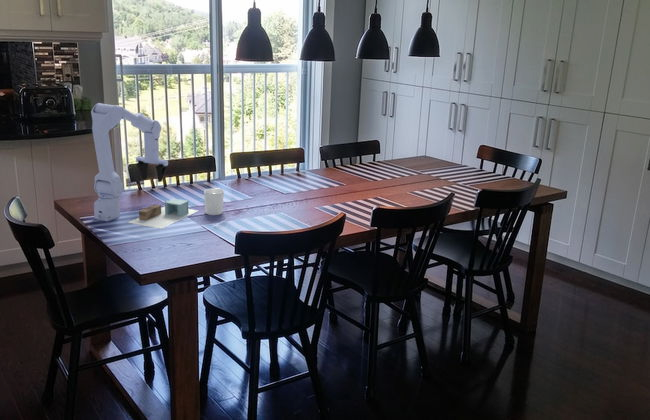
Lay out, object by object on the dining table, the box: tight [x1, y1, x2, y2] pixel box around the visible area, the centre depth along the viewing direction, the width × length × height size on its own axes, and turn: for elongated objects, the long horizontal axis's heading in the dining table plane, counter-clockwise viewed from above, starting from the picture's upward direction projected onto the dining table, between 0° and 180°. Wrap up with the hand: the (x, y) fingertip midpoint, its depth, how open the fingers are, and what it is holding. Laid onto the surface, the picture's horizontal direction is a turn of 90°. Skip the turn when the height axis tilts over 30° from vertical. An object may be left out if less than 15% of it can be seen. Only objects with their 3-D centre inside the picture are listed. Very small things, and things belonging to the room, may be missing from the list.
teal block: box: [164, 197, 189, 217], centre depth 242 cm, size 6×7×5 cm
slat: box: [138, 203, 162, 221], centre depth 237 cm, size 10×3×4 cm, turn 160°
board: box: [127, 206, 199, 230], centre depth 239 cm, size 26×15×1 cm, turn 160°
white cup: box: [203, 187, 225, 216], centre depth 246 cm, size 8×8×10 cm
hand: (152, 180), depth 255 cm, fingers open, 7 cm apart
